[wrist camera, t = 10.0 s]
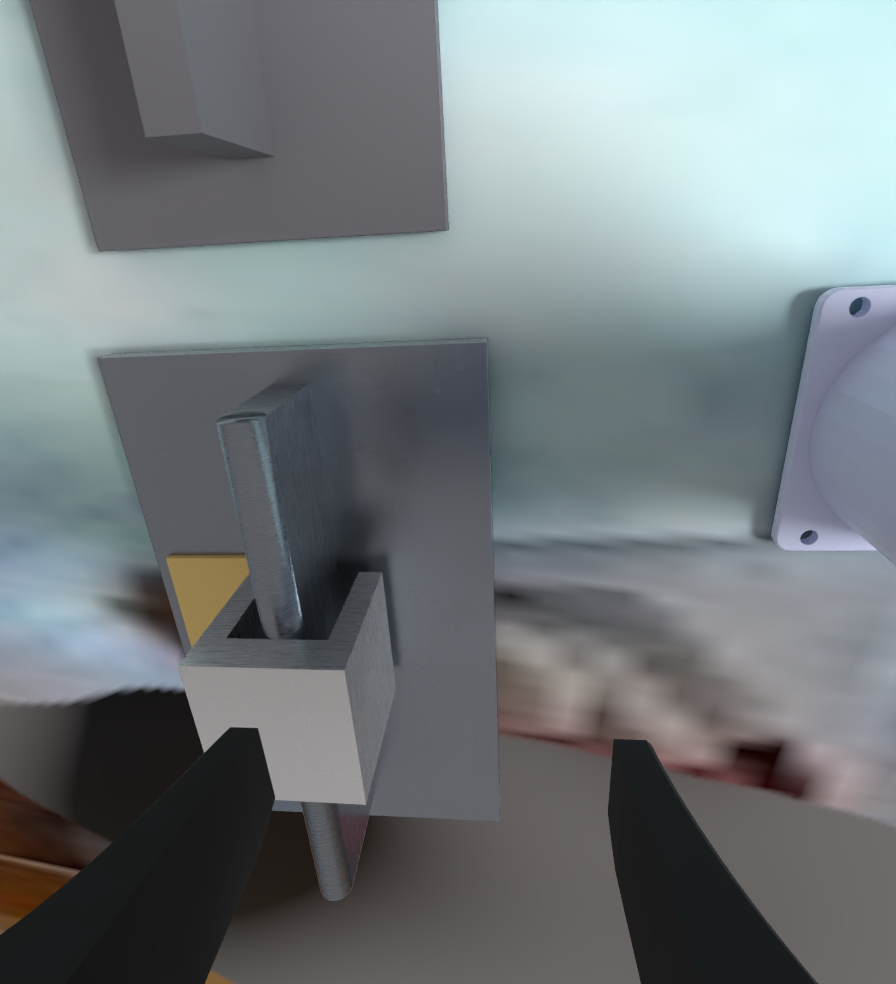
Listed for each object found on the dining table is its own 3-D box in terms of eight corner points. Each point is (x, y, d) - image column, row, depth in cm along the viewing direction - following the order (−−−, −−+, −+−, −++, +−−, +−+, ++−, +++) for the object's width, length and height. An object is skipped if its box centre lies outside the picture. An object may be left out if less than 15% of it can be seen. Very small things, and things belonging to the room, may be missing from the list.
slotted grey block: (382, 571, 19) (344, 670, 15) (395, 688, 21) (366, 804, 17) (250, 571, 20) (177, 666, 16) (276, 684, 22) (218, 796, 18)
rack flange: (487, 337, 17) (480, 375, 13) (500, 804, 25) (498, 928, 21) (113, 353, 19) (-14, 392, 14) (237, 792, 27) (182, 907, 22)
